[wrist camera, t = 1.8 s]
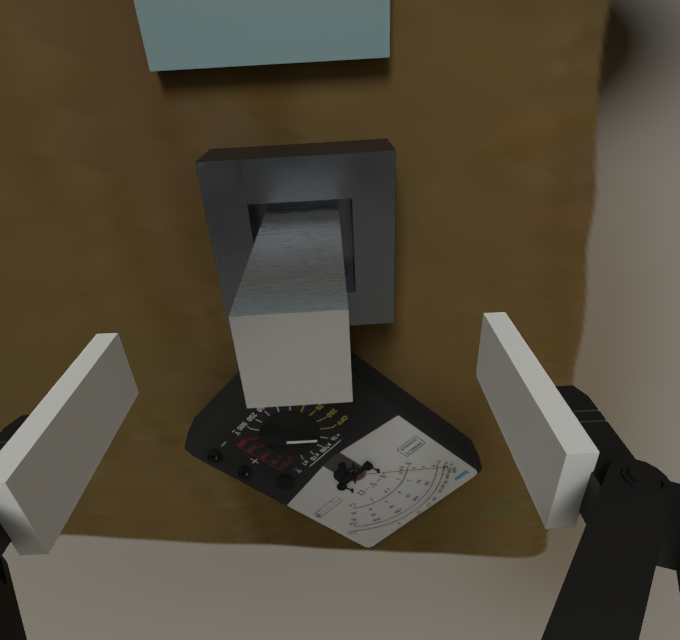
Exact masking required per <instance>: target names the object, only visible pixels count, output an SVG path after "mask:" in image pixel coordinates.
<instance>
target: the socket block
mask: <svg viewBox="0 0 680 640" xmlns="http://www.w3.org/2000/svg"><path fill="white" fill-rule="evenodd" d="M195 165H196V170H197V175H198V180H199V185H200V190H201V194H202V199H203V204H204V209H205V214H206V219H207V224H208V229H209V234H210V238H211V243H212V248H213V253H214V258H215V263H216V268H217V273H218V278H219V283H220V287H221V292H222V297H223V302H224V307H225V312H226V317H227V322H228V327H229V332H230V333H232V332H231V327H230V322H229V314H230V311H231V308H232V305H233V303H234V300H235V297H236V294H237V291H238V288H239V286H240V283H241V280H242V277H243V274H244V271H245V269H246V266H247V263H248V260H249V257H250V254H251V252H252V249H253V246H254V243H255V240H256V237H257V235H258V232H259V229H260V226H261V223H262V220H263V218H264V215H265V212H266V209H267V206H268V204H277V203H294V202H311V201H327V200H338V210H339V220H340V230H341V240H342V250H343V260H344V270H345V280H346V290H347V300H348V310H349V326H350V325H366V324H383V323H394V276H395V183H396V150H395V149H394V147H393V146H392V145H391V143H390V142H389V141H388V139H376V140H359V141H342V142H326V143H309V144H292V145H275V146H258V147H241V148H225V149H210V150H209V151H207V152H206V153H205V154H204V155H203V156H202V157H201V158H199V159H198V160H197V161H196V162H195Z"/></svg>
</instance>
